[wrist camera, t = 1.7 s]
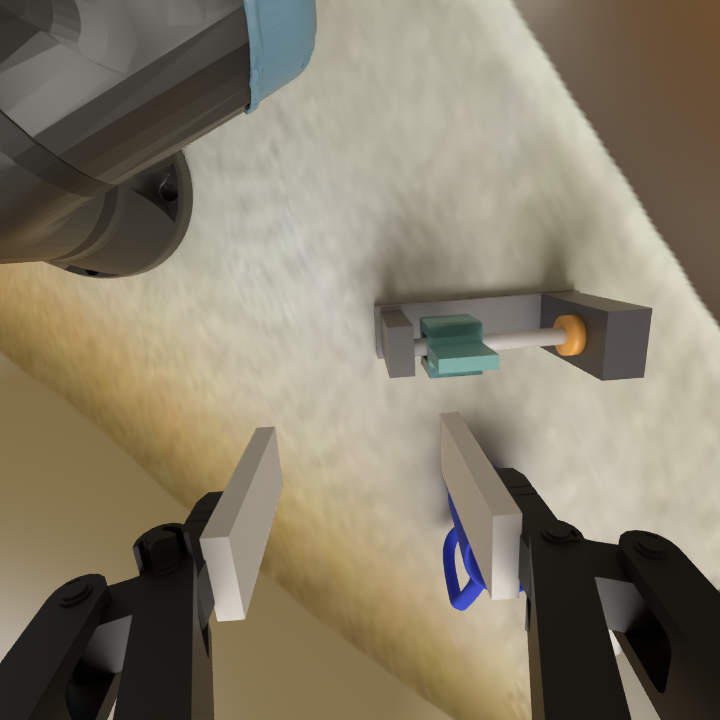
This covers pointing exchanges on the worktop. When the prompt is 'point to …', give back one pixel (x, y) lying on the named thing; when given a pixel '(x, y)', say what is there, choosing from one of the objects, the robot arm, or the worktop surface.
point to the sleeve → (455, 346)
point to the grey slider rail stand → (529, 330)
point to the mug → (476, 582)
